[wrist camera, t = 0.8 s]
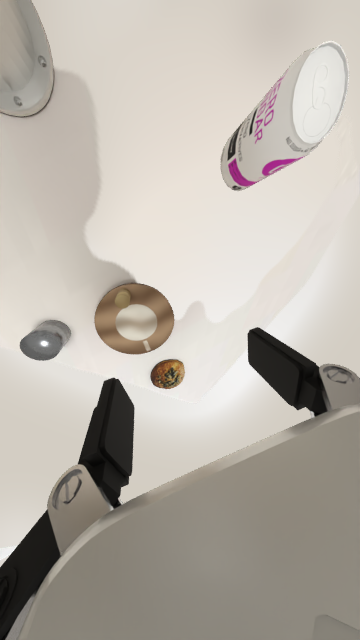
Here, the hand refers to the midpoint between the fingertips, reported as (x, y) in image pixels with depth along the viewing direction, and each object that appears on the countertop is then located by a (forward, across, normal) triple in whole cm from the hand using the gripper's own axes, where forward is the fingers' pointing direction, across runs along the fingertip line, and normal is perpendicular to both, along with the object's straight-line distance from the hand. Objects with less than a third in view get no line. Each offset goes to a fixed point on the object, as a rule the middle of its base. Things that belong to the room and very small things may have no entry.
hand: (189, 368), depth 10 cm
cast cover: (+28, +24, +4) cm, 37 cm away
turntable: (+26, +6, +6) cm, 27 cm away
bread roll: (+29, +4, +27) cm, 40 cm away
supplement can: (+28, -22, -18) cm, 40 cm away
